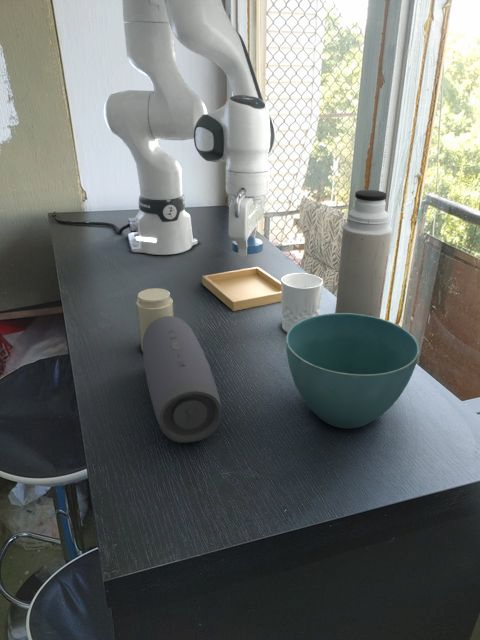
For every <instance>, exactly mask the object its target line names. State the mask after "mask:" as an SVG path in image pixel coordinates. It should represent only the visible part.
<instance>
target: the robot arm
mask: <svg viewBox="0 0 480 640" xmlns="http://www.w3.org/2000/svg"><path fill="white" fill-rule="evenodd" d="M122 18H123V30H124V38H125V49H126V57H127V60H128V62H129V63H130V65H131V67H133V68H134V69H135V70H136V71H138V72H139V73H141V74H142V75H144V76H146V77H147V78H148V79H149V80H150V82H151V85H152V87H153V88H152V89H153V90H133V89H127V90H122V91H118V92H113V93H110V94H109V95H108V96H107V98H106V100H105V102H104V105H103V119H104V121H105V124H106V126H107V127H108V129H109V130H110V132H111V133H112V134H113V135H115V136H116V137H117V138H118V139H119V140H121V142H122V143H123V144H124V145H125V147H126V148H127V149H128V151H129V152H130V154H131V157H132V158H133V160H134V164H135V167H136V172H137V178H138V184H139V185H138V186H139V196H138V209H139V210H138V211H137V214H136V215H135V217H128V218H127V220H128V223H127V224H126V225H123V226H122V227H120V229H119V228H118V226H117V225H116V224H114V223H111V222H103V221H88V222H89V223H86V222H87V221H82V222H71V221H72V220H67V221H62V220H63V219H61V220H58V219H59V218H58V219H55V218H54V220H55V221H56V222H57V223H62V224H69V225H85V226H107V227H111V228H113V229H114V230H115V233H116V234H118V235H121V234H122V233H123V232H124V231H125V230H126V229H129V231H130V232H129V233H128V234H127V239H128V244H129V247H130V251H131V252H132V253H143V254H148V255H156V256H157V255H158V256H168V255H176V254H182V253H184V252H187V251H189V250H191V249H192V247H193V246H196V245H198V242H199V241H198V239H197V238H195V237H193V228H192V219H191V215H190V213H188V212H187V211H186V210H185V209H186V199H185V195H184V193H183V179H182V178H183V177H182V176H183V175H182V167H181V164H180V162H179V161H178V160H177V159H176V158H174V156H172V155H170V154H168V153H166V152H165V151H164V150H163V149H162V148H161V146H160V143H159V140H160V141H161V140H165V141H187V140H193V142H194V147H195V149H196V151H197V153H198V154H199V156H200V157H201V158H202V159H203V160H205V161H207V162H210V163H223V162H224V163H225V193H226V194H227V195H229V196H231V200H230V203H229V207H228V208H229V209H228V233H227V234H228V238H229V240H230V241H236V242H237V246H238V253H237V255H238V256H239V257H245V258H246V257H247V255H249V254H248V247H247V240H248V238H256V234H257V228H258V227H257V226H258V225H259V223H260V222H261V220H262V219H263V217H264V212H265V205H266V195H268V194H269V190H270V164H269V161H268V156H269V155H270V153H271V152H272V150H273V148H274V145H275V143H276V137H277V133H276V132H277V131H276V127H275V124H274V122H273V119H272V117H271V115H270V113H269V109H268V105H267V103H266V102H265V101H264V99H263V96H262V93H261V89H260V87H259V82H258V80H257V76H256V73H255V71H254V67H253V64H252V61H251V58H250V55H249V52H248V50H247V49H248V48H247V46H246V44H245V41H244V39H243V37H242V35H241V34H240V33H239V31H237V30H236V28H235V27H234V26H233V23H232V22H231V20H230V18H229V16H228V14H227V12H226V9H225V7H224V4H223V1H222V0H122ZM175 39H176V40H177V41H178V42H179V43H180V44H181V45H182V46H183V47H184V48H186V49H187V50H188V51H191V52H193V53H194V54H197V55H199V56H202V57H204V58H205V59H207V60H209V61H211V62H212V63H214V64H215V65H216V66H218V67H219V68H220V69H221V70H222V71H223V73H224V74H225V75H226V77H227V80H228V83H229V86H230V89H231V92H232V95H233V96H230V97H229V98H227V100H226V101H225V104H224V105H223V106H221V107H220V108H217V109H216V110H213V111H211V112H208V109H207V106H206V104H205V102H204V101H203V99H202V98H201V97H200V96H199V95H198V94H197V93H196V92H195V91H194V90H193V89H192V88H190V86H189V85H188V83H187V81H186V80H185V78H184V77H183V75H182V72H181V70H180V67H179V65H178V59H177V53H176V46H175ZM53 214H54V215H57V212H56V211H53V212H52V215H51V217H54V215H53Z"/></svg>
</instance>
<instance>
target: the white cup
mask: <svg viewBox="0 0 480 640" xmlns="http://www.w3.org/2000/svg"><path fill="white" fill-rule="evenodd" d="M280 282H281V302H280V305H281V307H280V308H281V310H280V311H281V328H282V329H283V331H284V332H286V333H288V331H289V330H290V328H291V327H292V326H294V325H295V324H296V323H298V322H300V321H302V320H304V319H307V318H310V317H313V316H318V315H320V309H321V301H322V293H323V287H324V280H323V278H321V277H320V276H319V275H316V274H313V273H306V272H293V273H288V274H286V275H284V276H282V277H281V279H280Z"/></svg>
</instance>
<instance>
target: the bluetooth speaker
mask: <svg viewBox="0 0 480 640" xmlns="http://www.w3.org/2000/svg"><path fill="white" fill-rule="evenodd" d="M142 354H143V355H142V356H143V364H144V372H145V376H146V378H145V379H146V383H147V388H148V393H149V398H150V401H151V404H152V407H153V410H154V414H155V417H156V420H157V423H158V425H159V427H160V429H161V431H162V433H163V434H164V435H165V436H166V437H167V438H168V439H170V440H172V441H174V442H176V443H181V444H182V443H194V442H198V441H201V440H205V439H206V438H208V437H210V436H211V435H213V433H214V432H215V431H216V430H217V428H218V427H219V426H220V424H221V421H222V417H223V411H222V410H223V409H222V404H221V403H222V402H221V399H220V394H219V391H218V388H217V385H216V382H215V378H214V376H213V373H212V371H211V366H210V363H209V362H208V359H207V357H206V355H205V353H204V351H203V349H202V346H201V344H200V342H199V340H198V338H197V336H196V333H195V332H194V331H193V330H192V328H191V327H190V325H189V324H188V323H187V322H186V321H185V320H183V319H182V318H179V317H178V316H174V317H173V316H165V317H161V318H158V319H156V320H154V321H153V322H152V323H151V324H150V325H149V326H148V327H147V329H146V331H145V333H144V336H143V351H142Z"/></svg>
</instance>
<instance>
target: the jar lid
mask: <svg viewBox="0 0 480 640" xmlns="http://www.w3.org/2000/svg"><path fill="white" fill-rule="evenodd" d="M263 246H264V242H263V240H261V239H259V238H256V237H255V238H248V240H247V247H248V254H247V255H255V254H256V255H257V254H260V253H261V252H263V250H264V248H263ZM231 250H232V251H233V252H234V253H237V254H238V246H237V242H236V241H233V240H231Z"/></svg>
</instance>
